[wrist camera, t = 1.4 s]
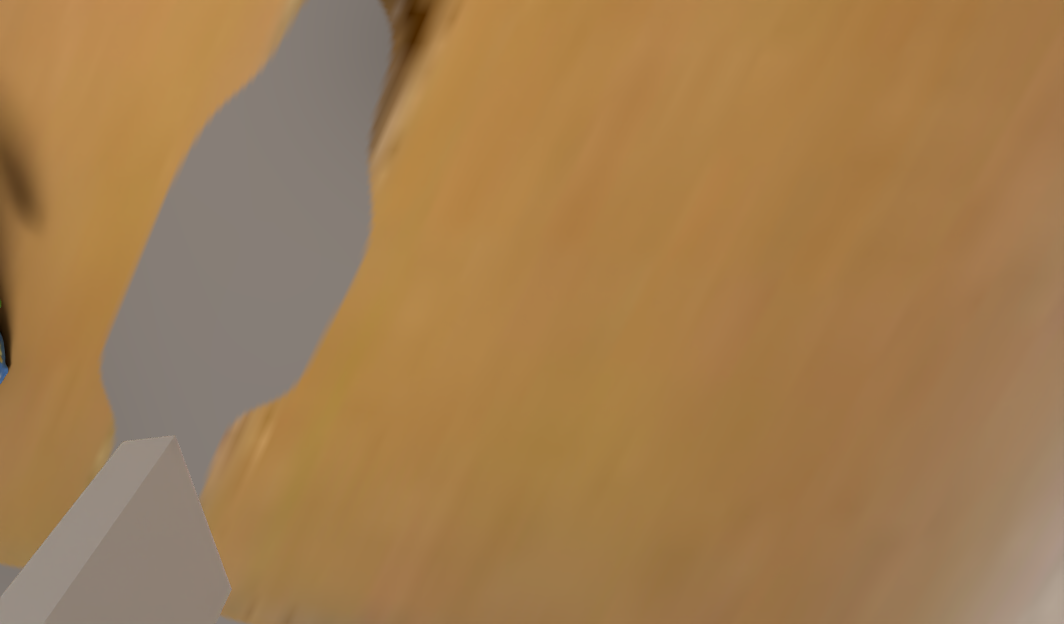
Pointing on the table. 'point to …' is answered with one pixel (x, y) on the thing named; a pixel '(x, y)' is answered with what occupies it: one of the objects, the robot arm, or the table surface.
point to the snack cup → (2, 359)
